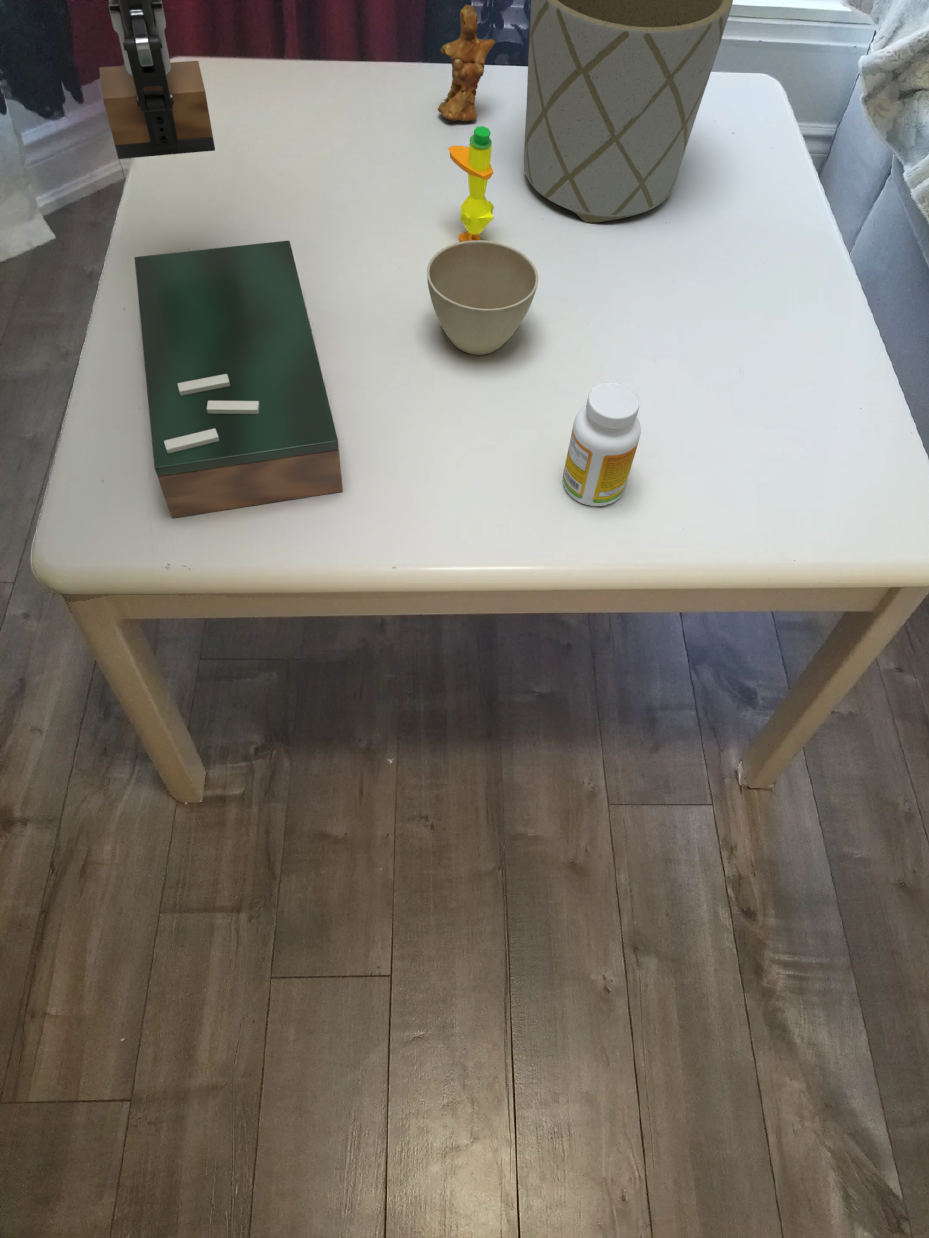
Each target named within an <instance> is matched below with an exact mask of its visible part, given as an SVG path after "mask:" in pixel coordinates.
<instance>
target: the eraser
mask: <svg viewBox="0 0 929 1238" xmlns="http://www.w3.org/2000/svg"><path fill="white" fill-rule="evenodd" d="M170 64H171V70H170V71H169V72H168V73H167V75H166V77H167V82H168V87H169V92H170V94H172V97H173V102H174V105H172V107H173V110H172V113H173V118H174V123H175V128H176V133H177V138H178V143H179V149H178V150H177V151H174V152H163V153H157V152H155V151H154V150H153V149H152V146H151V142H150V137H149V133H148V128H147V124H146V120H145V115H144V112H141V109H140V108H138V104H137V97H138V96H137V92H136V88H135V84H134V79H133V76H132V75H130V74H129V73H128V72H127V71H126V67H125V65H116V66H101V67H98V71H99V78H100V86H101V95H102V96H101V97H102V101H103V105H104V110H105V113H106V116H107V120H108V124H109V128H110V133H111V136H112V141H113V144H114V148H115V151H116V155H117V158H118V159H119V160H124V159H136V158H146V157H158V156H160V157H161V156H169V155H182V154H192V153H205V152H214V151H216V147H215V140H214V134H213V129H212V122H211V117H210V111H209V105H208V98H207V93H206V87H205V84H204V81H203V80H204V79H203V76H202V71H201V67H200V63H199V60H187V61H186V60H185V61H173V62H171V61H170ZM143 89H144V91H149V90H163V89H162V87H160V86H150V87H144V88H143Z"/></svg>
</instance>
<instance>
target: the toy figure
mask: <svg viewBox="0 0 929 1238" xmlns="http://www.w3.org/2000/svg"><path fill="white" fill-rule="evenodd" d="M491 134H492V132H491V130H490V128H488V127H486V126H484V125H480V126H476V127H475V128H474V129H473V134H472V135H471V136H470V137H469V144H468V146H467V147H466V146H464V145H452V146H450V147H448V148H447V150H448V152H449V158H450V160H451V161H452V162H453V163H454V164H455V165H456V166H457V167H459V168H460V169H461V170H462V171H464V172H465V173H467V179H468V191H469V192H468V193H469V195H468V196H467V197H466V198H465V200H464V201H463V202H462V203H461V205H460V217H459V220H460V221H461V222H462V224H463V226H464V228H465V229H466V231H465V232H464V233H463V232H462V233H461V232H460V233H459V234H458V235H457V236H458V240H459V242H463V241H471V240H482V239H481V237H480V234H481V233H482V232H483V231H484V230H485V228H486V227H487V226H488V225H489V224H490V223H491V221H493V220H494V218H495V217H494V215H493V212H494V208H495V207H494V204H493V203H492V202H491V200H489V201H488V199H487V198H486V196H485V195H486V190H487V186H488V181H489V179H491V177H492V176H493V174H494V169H493V167H492V165H491V159H492V144H493V141H492V138H491V137H490V136H491Z"/></svg>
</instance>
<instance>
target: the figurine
mask: <svg viewBox="0 0 929 1238" xmlns="http://www.w3.org/2000/svg"><path fill="white" fill-rule="evenodd" d="M459 22H460V23H459V26H460V34H459V37H458V38H457V39H455V40H452V41H450V42H448V43H445V44H443V45H442V46H441V48H440V53H442V55H443V56H448V57H449V59H450V61H451V79H452V80H451V85H450V90H449V91H448V92H447V95H446V98H445V99H444V100H443V102H440V104H439V105H438V108H437V111H438V113H440V114H441V116H442V117H443V118H445V120H448V121H453V122H456V121H461V122H471V121H476V119H477V118H478V116H477V110H476V96H477V89H478V87H479V86H478V84H479V82H480V80H481V78H482V77H483V76H484V73H485V62H486V59H487V55H488V54H489V52H490V51H491V49H492V48H493V47H494V46H495V45H496V41H495V39H492V38H488V39H481V38H478V37H477V35H478V34H477V30H478V14H477V12H476V10H475V6H473V5H470V4H464V6H463V7H462V8H461V9H460V11H459Z"/></svg>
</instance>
